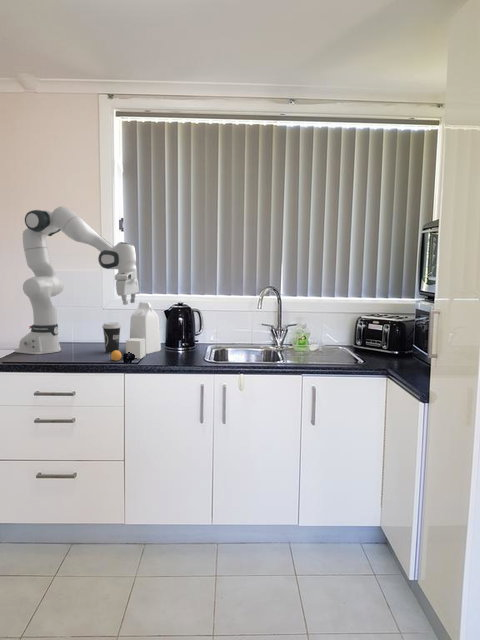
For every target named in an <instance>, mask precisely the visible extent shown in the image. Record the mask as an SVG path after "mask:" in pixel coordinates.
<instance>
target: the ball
mask: <svg viewBox="0 0 480 640" xmlns="http://www.w3.org/2000/svg"><path fill="white" fill-rule="evenodd" d="M110 358H111V360H112V361H115V362H117V361H120V360H121V359H122V352H121V351H120V350H119V351H118V350H115V351H113V352H112V353H110Z"/></svg>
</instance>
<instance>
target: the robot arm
mask: <svg viewBox="0 0 480 640" xmlns="http://www.w3.org/2000/svg"><path fill="white" fill-rule="evenodd" d="M24 224H25V226H26V228H25V229H24V230H23V231H22V246H23V251H24V256H25V260H26V265H27V267H28V268H29V269H30V271H32V272H33V274H34V276H33V277H30V278H28V279H26V280H25V281H24V282H23V285H22V291H23V293H24V294H25V296H26V297H27V298H28V300H29V301H30V304H31V308H32V312H33V313H32V314H33V324H31V325H30V326H28V327H29V328H28V329H30V332H28V333H27V334H26V335H25V336H23V337H21V339H20V340H19V345H18V348H15V349H14V353H19V354H20V353H21V354H30V355H42V354H52V353H58V352H61V351H62V348H61V345H60V341H59V335H58V334H59V324H58V319H57V318H58V317H57V308H56V306H54V304H53V302H52V299H51V297H55V296H58V295H60V294H61V293H62V292H63V290H64V282H63V280H62V279H61V278H60V277H59V276H58V275H57V272H56V270H55V269H54V267H53V265H52V262H51V261H52V260H51V257H50V253H49V248H48V245H47V237H52V236H53V235H55V234H57V233H59V232H62V233H64V235H66V236H67V237H68V238H70V239H71V240H73V241H74V242H77V243H81V244H85V245H89V246H91V247H93V248H95V249H96V250H98V252H100V253H99V254H98V259H97V260H98V263H99V265H100V267H101V268H103V269H106V270H117V273H116V274H115V275H114V280H115V289H116V295H117V296H119V297H121V300H122V305H124V306H126V305H128V303H129V302H128V300H127V299H128V298H127V297H128V296H130V300H129V301H130V304H134V303H136V294H139V292H140V286H139V285H140V284H139V279H138V272H137V270H138V269H137V265H136V264H137V254H136V248H135V246H134V244H132V243H130V242H124V241H123V242H122V241H120V242H118V243H116V245H114V246H113V245H112V244H111V243H110V242H108V241H107V240H106V239H105V238H103V237H102V236H101V235H100V234H98V233H97V232H96V230H94V229H93V228H92V227H91V226H90V225H89V224H88V223H87V222H86V221H84V219H82V217H80V216H79V215H78V214H76V213H75V212H74V211H73V210H71V209H69V208H68V207H66V206H62V205H61V206H58V207H56V208H55V209H54V210H53V211H50V210H49V211H48V210H40V209H32V210H30V211H28V212H27V213H26V214H25V217H24Z"/></svg>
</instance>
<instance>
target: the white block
mask: <svg viewBox="0 0 480 640" xmlns="http://www.w3.org/2000/svg"><path fill="white" fill-rule="evenodd" d="M128 352H130V353H132V354H134V355H135V358H137V360H139V359H140V360H141V359H143V358H144V357H146V355H147V354H145V339H140V338H131V339H130V338H128V339H127V340H125V354H126V353H128Z"/></svg>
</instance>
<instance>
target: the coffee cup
mask: <svg viewBox="0 0 480 640" xmlns="http://www.w3.org/2000/svg"><path fill="white" fill-rule="evenodd" d="M101 327H102V330H103V331H102V332H103V337H104V338H103V339H104V349H105V353H106V354H107V353H110V354H111V353H112V352H113V351H115V350H118V351H120V349H119V347H120V337H121V335H120V334H121V328H122V326H121V324H120V322H115V321H114V322H113V321H111V322H103V325H102V326H101Z"/></svg>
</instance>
